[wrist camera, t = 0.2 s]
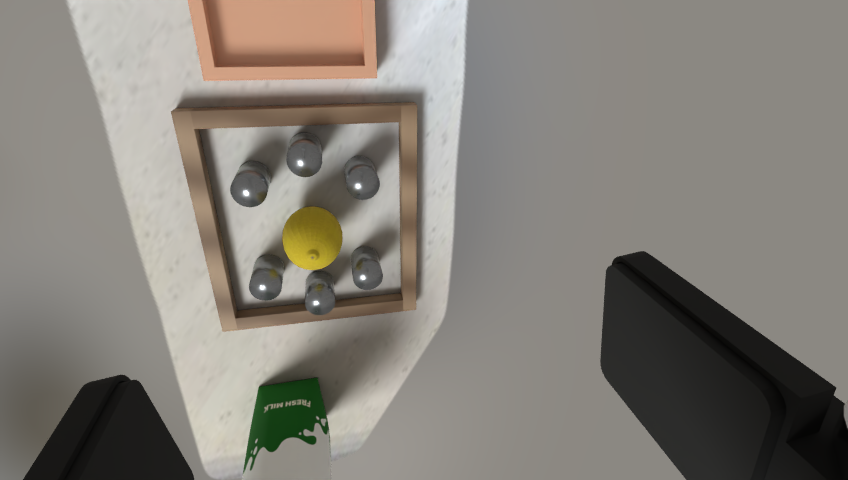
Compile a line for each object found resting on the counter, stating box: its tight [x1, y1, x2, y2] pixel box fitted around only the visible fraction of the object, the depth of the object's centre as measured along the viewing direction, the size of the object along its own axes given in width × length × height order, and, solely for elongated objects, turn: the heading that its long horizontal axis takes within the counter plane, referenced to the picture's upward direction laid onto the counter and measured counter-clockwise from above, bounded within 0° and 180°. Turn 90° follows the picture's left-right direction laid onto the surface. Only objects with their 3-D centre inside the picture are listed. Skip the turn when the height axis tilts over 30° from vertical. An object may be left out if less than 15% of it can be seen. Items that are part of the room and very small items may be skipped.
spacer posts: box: [230, 133, 383, 315], centre depth 45 cm, size 18×13×4 cm
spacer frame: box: [171, 102, 417, 332], centre depth 46 cm, size 23×21×2 cm
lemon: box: [282, 206, 342, 270], centre depth 43 cm, size 6×6×8 cm
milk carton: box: [242, 378, 331, 480], centre depth 48 cm, size 9×9×20 cm
